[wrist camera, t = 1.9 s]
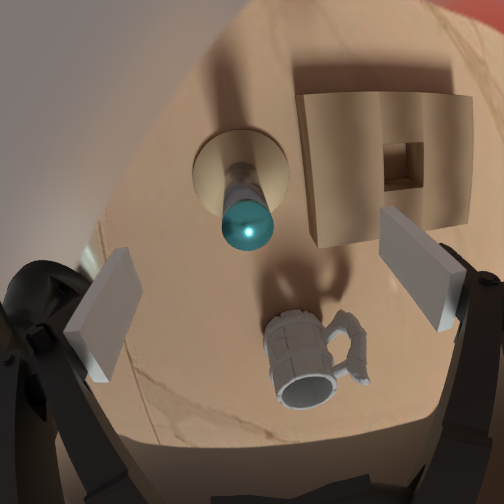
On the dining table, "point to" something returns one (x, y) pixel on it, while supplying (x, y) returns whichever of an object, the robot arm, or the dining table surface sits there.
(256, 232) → the peg
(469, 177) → the hole board
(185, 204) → the dining table surface
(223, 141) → the coaster
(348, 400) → the dining table surface
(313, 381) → the mug
